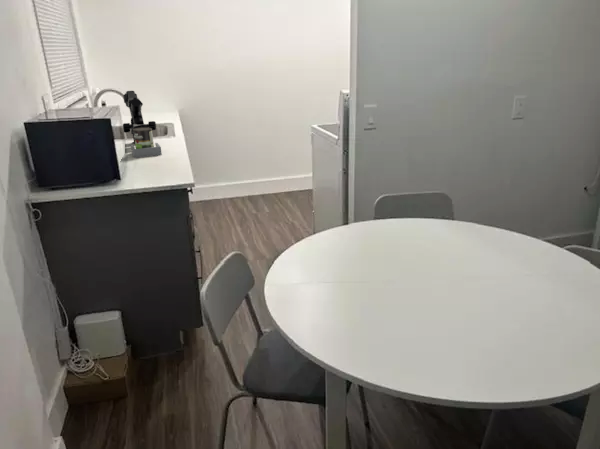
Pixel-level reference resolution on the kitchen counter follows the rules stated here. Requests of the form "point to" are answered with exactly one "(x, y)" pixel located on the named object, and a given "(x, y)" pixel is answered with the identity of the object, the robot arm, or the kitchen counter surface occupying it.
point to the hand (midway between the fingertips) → (142, 138)
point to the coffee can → (143, 137)
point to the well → (146, 151)
